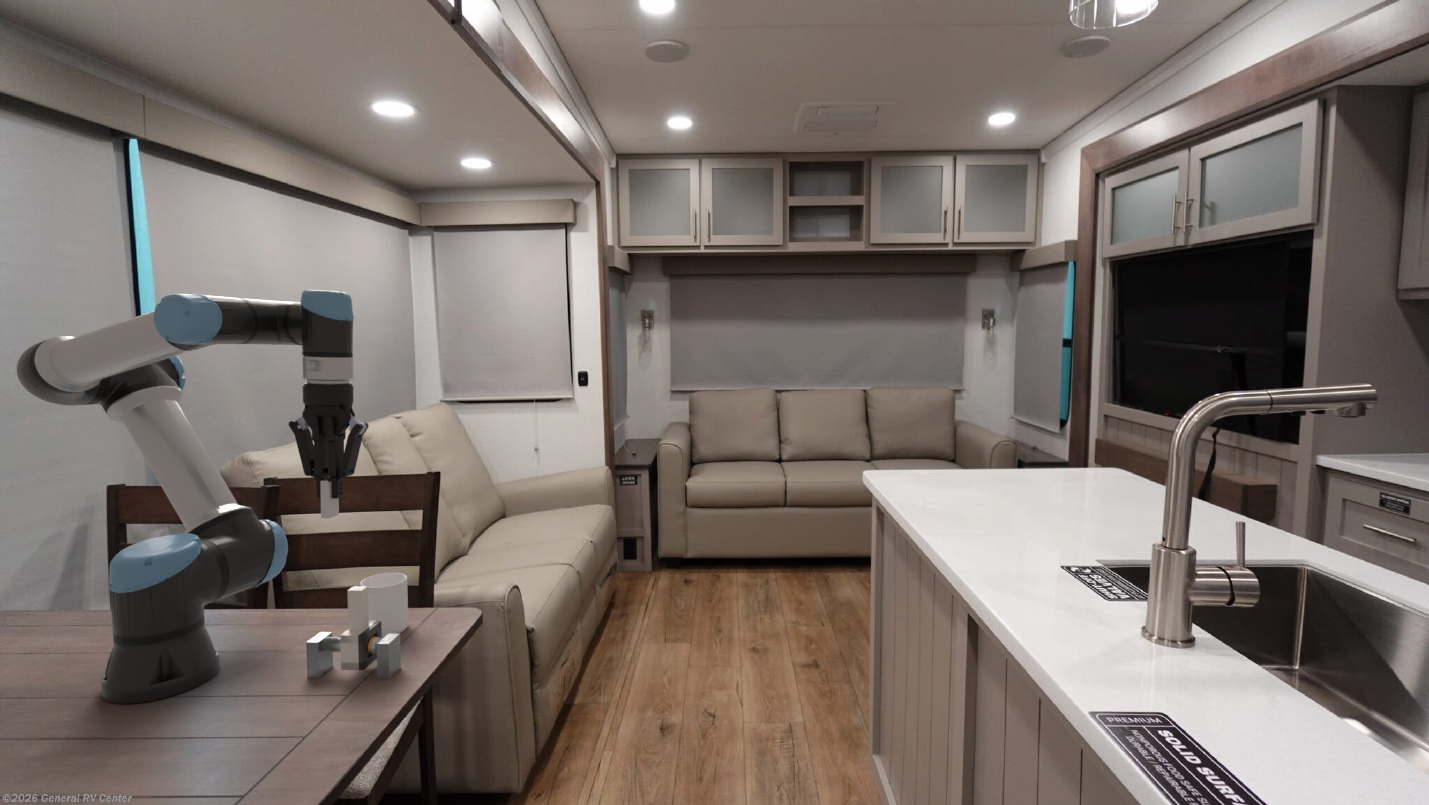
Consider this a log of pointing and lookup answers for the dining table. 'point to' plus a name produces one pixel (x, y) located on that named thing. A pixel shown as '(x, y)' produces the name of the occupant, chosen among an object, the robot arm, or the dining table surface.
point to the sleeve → (358, 631)
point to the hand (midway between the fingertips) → (330, 516)
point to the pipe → (325, 645)
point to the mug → (388, 601)
